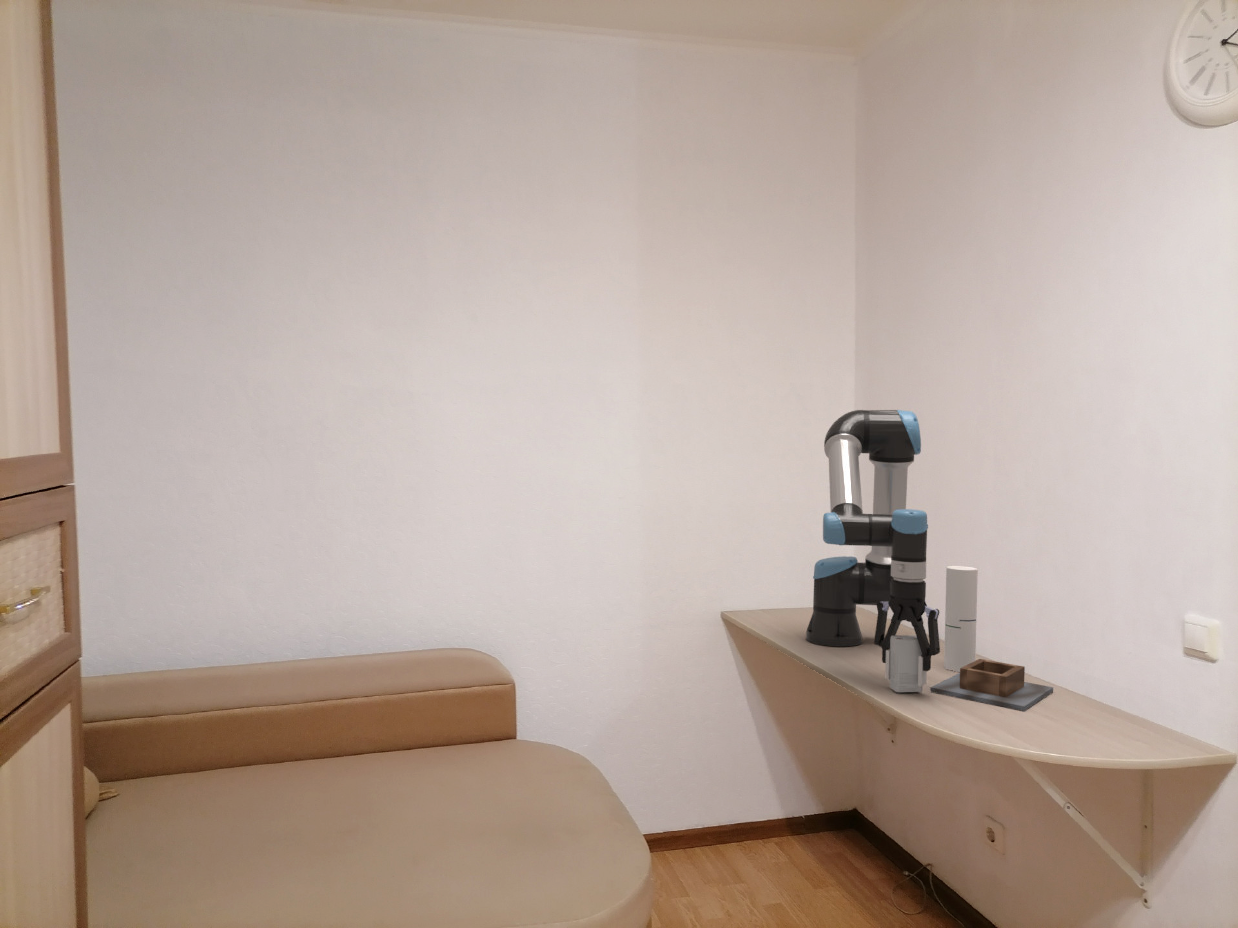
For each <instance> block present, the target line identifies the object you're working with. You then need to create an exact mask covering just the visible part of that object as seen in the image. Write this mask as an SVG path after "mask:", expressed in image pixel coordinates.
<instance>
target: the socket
mask: <svg viewBox="0 0 1238 928" xmlns="http://www.w3.org/2000/svg"><path fill="white" fill-rule="evenodd" d="M1025 670H1026V668H1025V665H1023V666H1022V665H1018V664H1013V663H1005V662H1002V661H1001V662H1000V661H995V660H989V659H985V658H984V659H982V658H979V659H975V661H974V662H972V663H970V664H968V665H966V666H964V667H962V668H960V672H957V674H955V675H953V676H951V677H949V678H946V679H945V680H943V681H940V682H938V683H937V684H934V685H932V686H931V687H930V689H929V691H931V692H930V693H934V692H937V693H936V694H939V693H940V695H943V694H946V695H945V696H948V695H949V696H948V697H953V696H955V698H959V699H962V700H968V699H969V701H973V702H976V703H977V702H979V703H982V704H983V703H984V704H987V705H988V704H989V705H992V706H997V707H1003V708H1006V709H1012V710H1016V711H1021V712H1025V711H1027V710H1028V709H1030V708H1031V707H1032V706H1034V705H1036V704H1038V703H1039V702H1040V701H1041V700H1043V699H1045V698H1046V697H1048V696H1049V695H1050V694H1052V693H1053V692H1054V687H1053V686H1048V685H1043V684H1038V683H1037V684H1036V683H1032V682H1028V681H1025V675H1026V674H1025Z"/></svg>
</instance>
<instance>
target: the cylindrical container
mask: <svg viewBox="0 0 1238 928" xmlns="http://www.w3.org/2000/svg"><path fill="white" fill-rule="evenodd" d="M978 571H979V569H978V568H976V567H972V566H966V565H964V566H963V565H950V566H949V565H948V566H946V571H945V572H946V573H945V574H946V575H945V576H946V577H945V579H946V580H945V611H944V612H945V614H944V615H945V617H944V619H945V620H944V621H945V622H944V623H945V624H944V651H943V655H944V656H943V658H944V659H943V668H944V667H945V668H944V669H945V670H947V669H948V670H947V671H950V670H953V671H952V672H954V671H956V673H960V668H962V667H964V666H966V665H968V664H970V663H972V662H974V661H976V651H977V650H976V647H977V646H976V645H977V643H976V642H977V614H978V613H977V607H978V574H979V573H978Z"/></svg>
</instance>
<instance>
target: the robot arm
mask: <svg viewBox="0 0 1238 928" xmlns="http://www.w3.org/2000/svg"><path fill="white" fill-rule="evenodd" d="M920 430H921V429H920V423H919V419H918V417H917V415H916V413H915V412H913V411H910V410H901V409H883V410H881V409H876V410H873V409H872V410H871V409H868V410H867V409H866V410H865V409H857V410H852V411H848V412H847V413H844V414H843V415H841V416H840V417H838V418H837V419H836V420H835V421H834V422H833V423H832V425H831V426H830V427H829V429H828V430H827V432H826V434H825V437H824V442H823V443H824V446H823V447H824V453H825V456H826V457H827V458H828V473H829V475H828V476H829V477H828V478H829V480H828V481H829V507H830V512H824V514H823V517H822V541H823V542H824V543H825V544H828V545H836V546H837V545H838V546H860V547H861V546H865V547H867V546H870V547H871V550H870V552H868V553H867V554H865V560H864V562H858V558H857V557H855V556H847V555H846V556H843V555H842V556H834V557H832V556H831V557H828V558H822V559H819V560H817V561H816V562H815V563H814V566H813V569H814V570H813V576H812V579H813V599H812V600H813V601H812V604H813V605H812V606H813V607H812V608H813V609H812V613H811V617H810V620H809V622H808V626H807V628H806V632H805V634H806V635H805V639H806V641H808V642H809V643H813V644H815V645H821V646H827V647H843V648H844V647H854V646H858V645H862V642H863V634H862V631H861V626H860V624H859V620H858V617H857V605H858V606H859V605H862V606H876V609H877V617H876V627H875V634H874V639H873V643H874V645H875V646H878V647H880V649H882V651H881V654H882V655H881V657H882V658H881V661H882V663H883V664H885V671H884V673H885V674H884V675H885V678H884V679H885V680H890V638H891V636H892V635H893V636H895V635H897V633H898V630H899V627H900V625H901V623H902V622H903V621H905V622H908V623H911V626H912V627H913V630H914V633H915V635H916V636H917V640H918V643H919V646H920V649H921V652H922V655H921V656H919V663H918V686H922V687H923V686H924V685H927V672H928V671H930V670H931V668H932V667H931V666H932V665H931V664H932V656H936V655H939V654H940V652H941V647H940V636H939V635H940V633H939V625H938V624H939V621H938V619H939V616H940V610H939V609H938V608H932V607H929V606H928V605H927V603H926V596H927V595H926V594H927V593H926V592H927V591H926V587H927V583H926V580H925V579H926V578H927V546H928V545H927V544H928V543H927V542H928V529H929V525H928V514H927V512H926V511H924V510H920V509H909V508H907V489H908V469H909V467H910V465H911V464H913V463H914V462H915V456H917V455H920V454H921V450H922V441H921V440H922V438H921V431H920ZM861 454H868V460H869V462H871V464H872V465H873V466H874V474H873V475H874V477H873V496H872V497H873V499H872V500H873V503H872V513H864V511H863V500H862V499H863V498H862V487H861V486H862V485H861V474H860V473H861V471H860V461H859V456H860V455H861ZM889 610H891V611H892V613H893V614H892V616H891V619H890V623H889V627H888V629H887V631H886V627H887V620H888V611H889ZM924 614H925V615H926V617H927V628H928V629H927V631H928V636H927V633H926V629H925V626H924V620H923V617H922V616H923V615H924Z"/></svg>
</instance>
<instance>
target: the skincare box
mask: <svg viewBox="0 0 1238 928" xmlns="http://www.w3.org/2000/svg"><path fill="white" fill-rule="evenodd" d="M921 655H922V652H921V649H920V646H919V643H918V640H917V636H916V634H914V635H913V634H912V635H911V634H909V635H908V634H906V635H904V634H903V635H901V634H900V635H897V634H896V635H895V636H893V635H892V636H891V638H890V679H889V688H890V689H891V690H893V691H894V692H895V693H921V692H923V686H918V663H919V656H921Z"/></svg>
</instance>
